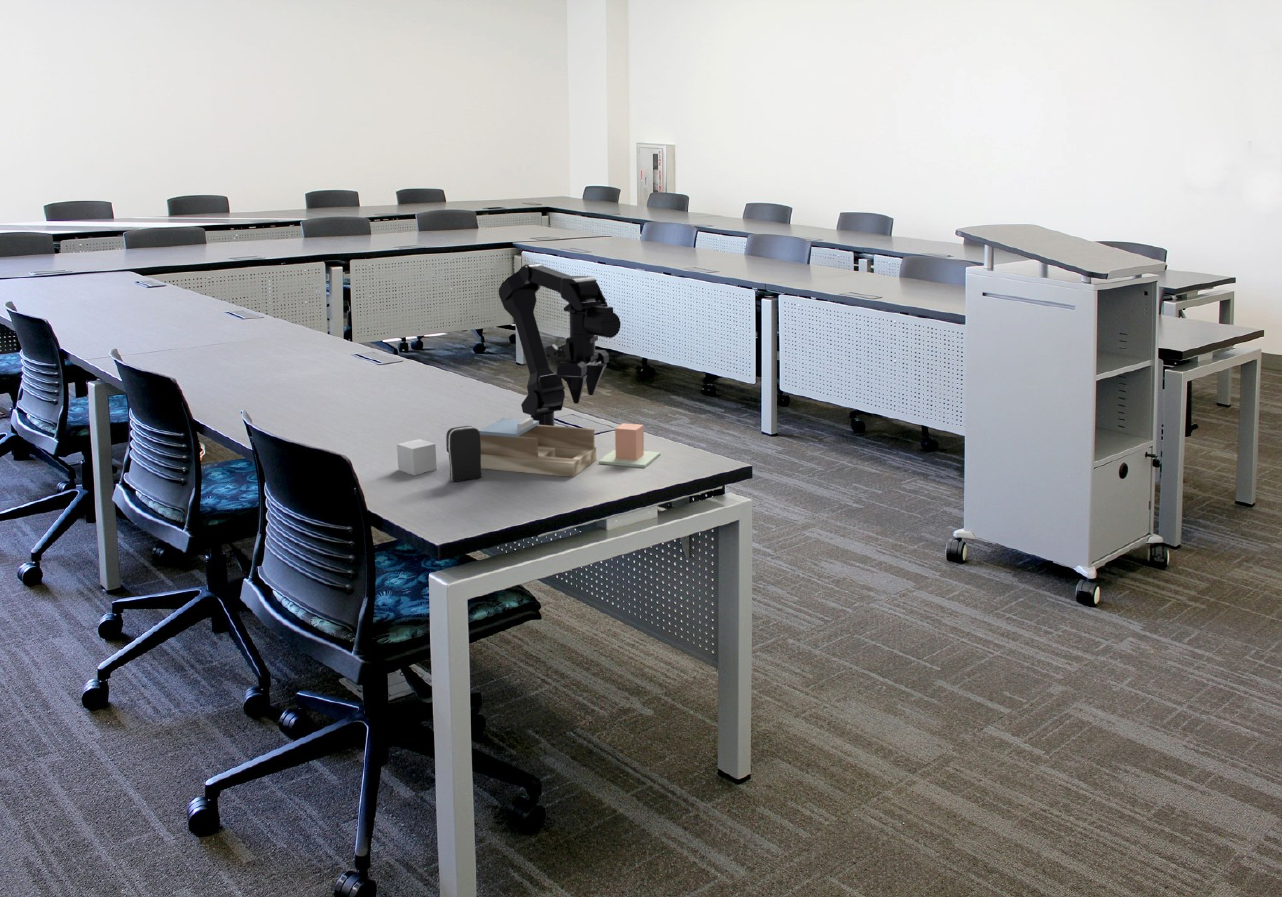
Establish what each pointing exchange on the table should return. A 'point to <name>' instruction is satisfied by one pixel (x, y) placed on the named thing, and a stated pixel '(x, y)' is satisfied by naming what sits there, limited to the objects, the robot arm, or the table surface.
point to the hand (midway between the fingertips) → (583, 399)
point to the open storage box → (540, 451)
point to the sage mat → (641, 462)
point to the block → (629, 441)
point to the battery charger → (464, 453)
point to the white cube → (416, 456)
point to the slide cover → (509, 427)
